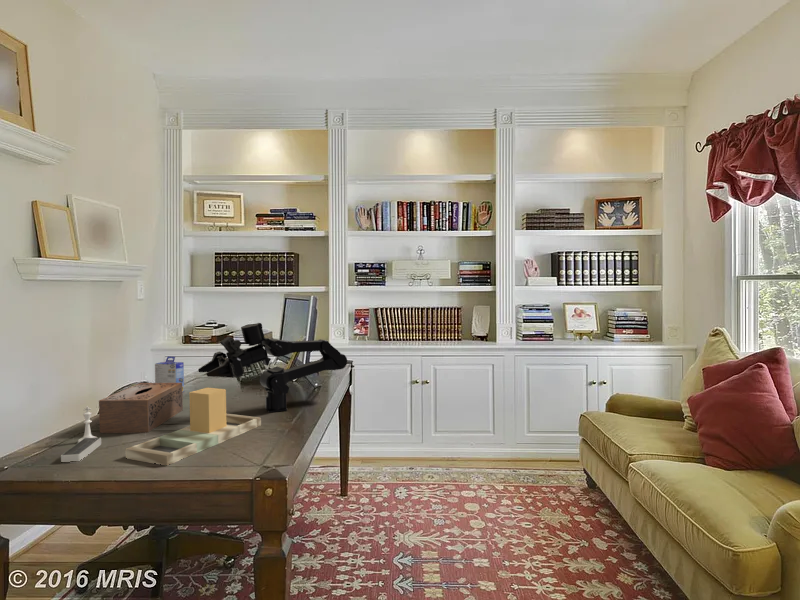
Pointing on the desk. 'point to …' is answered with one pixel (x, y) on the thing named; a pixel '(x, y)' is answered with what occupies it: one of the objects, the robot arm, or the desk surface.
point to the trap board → (189, 441)
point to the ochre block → (207, 410)
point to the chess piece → (87, 425)
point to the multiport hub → (81, 449)
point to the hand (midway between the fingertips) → (202, 372)
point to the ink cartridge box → (170, 372)
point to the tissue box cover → (140, 407)
